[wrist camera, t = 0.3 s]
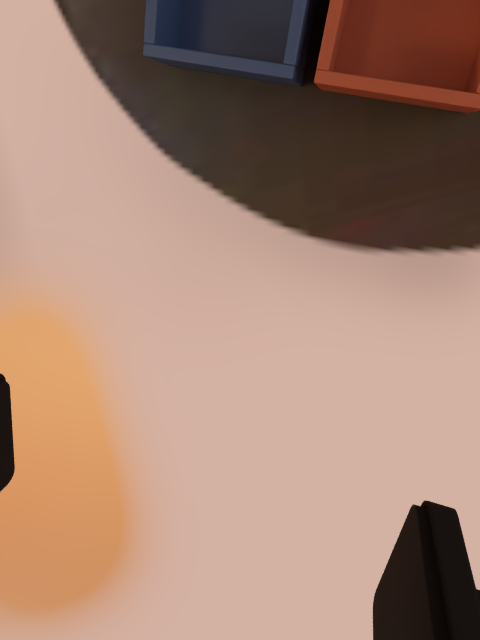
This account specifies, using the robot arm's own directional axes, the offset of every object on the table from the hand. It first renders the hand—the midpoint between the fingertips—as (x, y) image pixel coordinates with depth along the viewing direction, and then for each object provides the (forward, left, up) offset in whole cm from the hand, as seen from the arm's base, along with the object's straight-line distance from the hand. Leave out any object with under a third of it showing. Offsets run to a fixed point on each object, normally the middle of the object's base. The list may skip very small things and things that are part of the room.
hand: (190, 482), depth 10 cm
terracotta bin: (-15, +3, -31) cm, 35 cm away
